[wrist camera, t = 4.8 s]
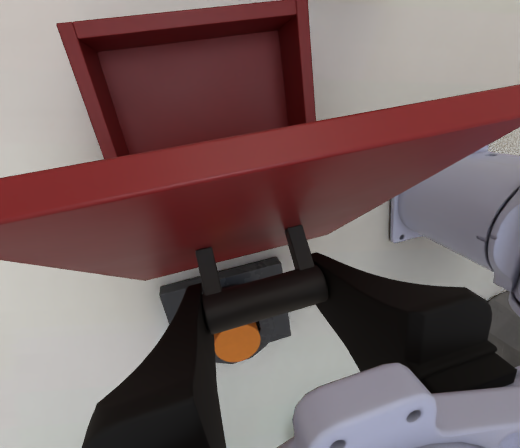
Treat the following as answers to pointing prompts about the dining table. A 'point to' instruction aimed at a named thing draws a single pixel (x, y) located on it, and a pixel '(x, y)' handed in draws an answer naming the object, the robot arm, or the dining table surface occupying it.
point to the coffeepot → (505, 329)
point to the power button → (237, 343)
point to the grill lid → (241, 199)
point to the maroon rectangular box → (192, 74)
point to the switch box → (229, 278)
